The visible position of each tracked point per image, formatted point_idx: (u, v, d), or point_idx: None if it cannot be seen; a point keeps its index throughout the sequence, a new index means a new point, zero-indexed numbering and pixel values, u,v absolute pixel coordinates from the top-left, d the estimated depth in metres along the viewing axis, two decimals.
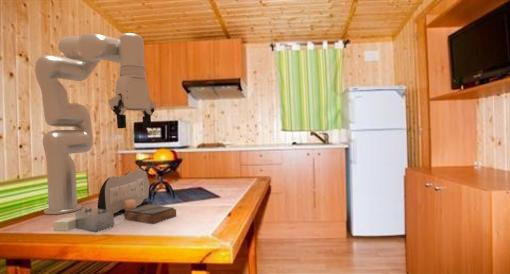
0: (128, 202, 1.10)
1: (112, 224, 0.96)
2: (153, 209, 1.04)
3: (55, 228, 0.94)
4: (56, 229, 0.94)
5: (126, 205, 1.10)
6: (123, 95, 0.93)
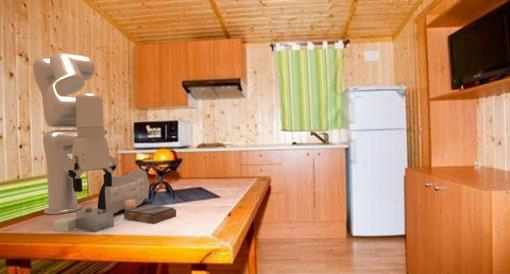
0: (128, 202, 1.10)
1: (112, 224, 0.96)
2: (153, 209, 1.04)
3: (55, 228, 0.94)
4: (56, 229, 0.94)
5: (126, 205, 1.10)
6: (79, 158, 0.91)
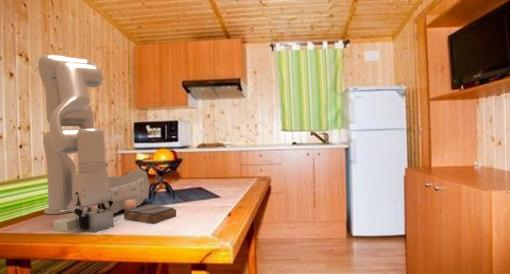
0: (128, 202, 1.10)
1: (112, 224, 0.96)
2: (153, 209, 1.04)
3: (55, 228, 0.94)
4: (56, 229, 0.94)
5: (126, 205, 1.10)
6: (80, 194, 0.91)
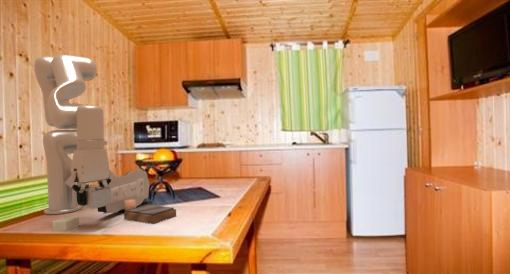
0: (128, 202, 1.10)
1: (109, 201, 0.96)
2: (153, 209, 1.04)
3: (54, 228, 0.94)
4: (55, 229, 0.94)
5: (126, 205, 1.10)
6: (78, 171, 0.91)
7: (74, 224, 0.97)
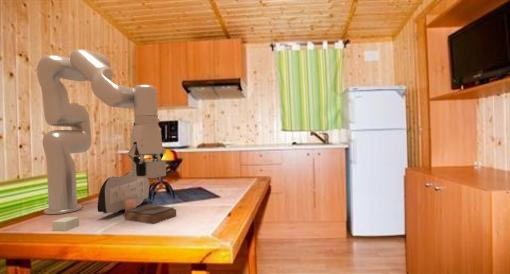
0: (128, 202, 1.10)
1: (165, 172, 1.05)
2: (153, 209, 1.04)
3: (54, 228, 0.95)
4: (54, 229, 0.94)
5: (126, 205, 1.10)
6: (138, 143, 1.00)
7: (74, 224, 0.97)
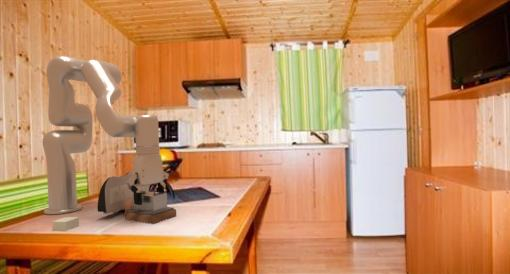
0: (128, 202, 1.10)
1: (166, 205, 1.05)
2: None
3: (54, 227, 0.95)
4: (54, 228, 0.95)
5: (126, 205, 1.10)
6: (139, 174, 1.00)
7: (74, 224, 0.97)
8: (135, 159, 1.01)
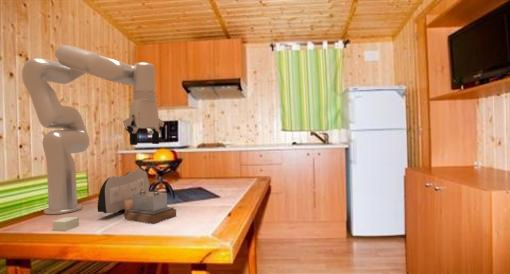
0: (128, 202, 1.10)
1: (166, 205, 1.05)
2: None
3: (53, 227, 0.95)
4: (54, 228, 0.95)
5: (126, 205, 1.10)
6: (136, 116, 1.08)
7: (74, 224, 0.96)
8: (132, 103, 1.09)
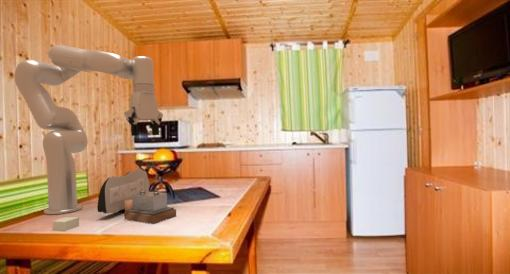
0: (128, 202, 1.10)
1: (166, 205, 1.05)
2: None
3: (53, 227, 0.95)
4: (54, 228, 0.95)
5: (126, 205, 1.10)
6: (136, 108, 1.12)
7: (73, 224, 0.96)
8: (132, 95, 1.13)
